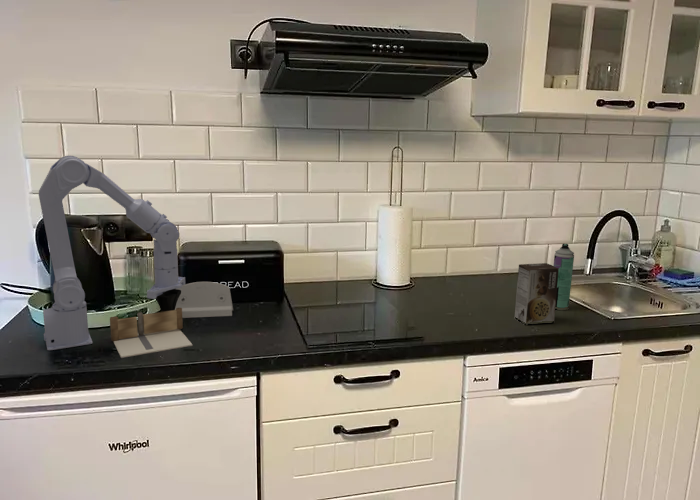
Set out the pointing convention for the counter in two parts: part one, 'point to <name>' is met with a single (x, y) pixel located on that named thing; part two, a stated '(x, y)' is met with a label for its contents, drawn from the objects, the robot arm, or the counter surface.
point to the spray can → (563, 275)
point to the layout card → (152, 343)
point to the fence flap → (159, 321)
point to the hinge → (204, 300)
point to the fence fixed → (123, 328)
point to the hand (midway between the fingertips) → (168, 318)
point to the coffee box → (536, 292)
